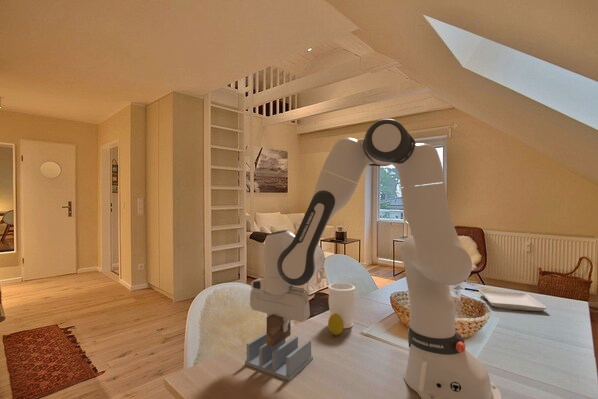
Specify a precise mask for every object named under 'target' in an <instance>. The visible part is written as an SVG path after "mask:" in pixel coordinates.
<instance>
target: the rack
mask: <svg viewBox="0 0 598 399" xmlns="http://www.w3.org/2000/svg"><path fill="white" fill-rule="evenodd" d="M313 360H314V356H313V355H312V339H307V340H306V341H304V342H303V343H302V344H301V345H300V346H299V336H298V335H297V336H296V335H295V336H293V337H291V339H289V340H286V339H284V340H283V341H281V342H280V343H278V344H277V345H275V346H274V347H272V346H269V345H267V331H266V332H264V333H262V334H261V335H259V336H258V337H255V338H254V339H252V340H250V341H249V342H248V343H246V360H245V361H244V365H245V366H247V367H248V366H249V367H251V368H253V369H256V370H259V371H262V372H264V373H267V374H269V375H272V376H274V377H277V378H280V379H282V380H285V381H287V382H290V381H291V380H292V379H293V378H294V377H296V375H298V374H299V373H300V372H301V371H302V370H303V369H304V368H305V367H306V366H307V365H309V364H310V363H311V362H312V361H313ZM308 363H309V364H308Z"/></svg>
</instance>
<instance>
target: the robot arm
mask: <svg viewBox="0 0 598 399" xmlns="http://www.w3.org/2000/svg"><path fill="white" fill-rule="evenodd" d="M442 164H443V163H442V161H441V158H440V155H439V152H438V150H437V149H436V147H434V146H433V145H432V144H429V143H424V142H423V143H422V142H421V143H420V142H419V143H416V141H415V139H414V138H413V137H412V135H411V134H410V132H408V130H407V129H406V127H405V126H404V125H403V124H401V122H399V121H398V120H395V119H392V118H383V119H380V120H376V121H375V122H373V124H371V125H370V126H369V127H368V128H367V130H366V133H365V135H364V138H361V139H357V138H353V137H342V138H340V139H338V140H337V141H336V142H335V144H334V145H333V146H332V148H331V150H330V151H329V153H328V155H327V157H326V159H325V161H324V162H323V166H322V167H321V170H320V173H319V176H318V178H317V181H316V184H315V187H314V191H313V193H312V197H311V200H310V202H309V205H308V207H307V209H306V211H305V213H304V216H303V218H302V220H301V223H300V225H299V227H298V229H297V231H296V234H294V233H293V232H292V231H291V230H288V229H282V230H279V231H273V232H270V233H268V234H267V235H266V237H265V239H264V248H263V262H264V266H265V268H264V272H263V276H262V277H259V278H257V279H254V280H252V281H250V288H251V290H250V292H249V293H250V295H249V307H250V308H251V311H252V310H253V311H256V312H259V313H264V314H266V316H267V317H268V316H270V315H272V314H273V315H277V316H280V317H283V321H285V322H284V324H283V325H281V331H283V332H286V331H287V330H288V324H289V322H290V323H291V320H293V321H296V322H300V323H303V322H305V321H307V320H308V319H309V318H310V316H311V312H310V311H311V310H310V302H309V301H310V299H309V297H310V296H309V293H308V291H307V290H306V289H305V288H304V287H300V286H303V285H305V284H307V283H308V282H310V280H311V279H312V277H313V276H314V275H315V274H316V273H317V272H319V270H320V269H322V266H323V265H324V262H325V253H324V251H323V249H322V247H321V246H320V245H319V243H320V241H321V238H322V236H323V234H324V232H325V229H326V227H327V225H328V223H329V222H330V220H331V219H332V218H333V217H334V216H335V214H336V213H337V212H338V211H339V212H340V210H341V209H343V208H344V207H345V206H346V205H347V204H348V203H349V201H350V200H351V198H352V196H353V195H354V193H355V191H356V189H357V187H358V185H359V184H358V183H359V182H360V180H361V177H362V174H363V172H364V171H365V169H366V168H367V167H368V166H369V167H370V166H373V167H374V166H375V167H388V166H393V167H394V168H395V169H396V172H397V173H398V176H399V181H400V182H399V184H400V193H401V199H402V207H403V216H404V218H405V220H406V222H407V224H408V226H409V229H410V232H411V235H410V236H407V237H406V238H404V239H403V241H402V243H401V244H400V247H399V251H400V252H399V253H400V256H401V259H402V262H403V266H404V267H403V268H404V274H405V275H404V276H405V279H406V285H407V289H408V291H407V292H408V297H409V326H408V330H407V343H408V348H409V350H408V359H407V364H406V369H405V372H404V374H403V378H404V381H405V383H406V384H407V385H408V386H409V387H410V389H412V390H413V391H414V392H416V393H417V394H418V396H419V397H420V399H502V398H503V397H502V393H501V391H500V389H499V388H498V385H496V384H495V383H494V382H492V381H491V379H490V375H489V372H488V370H487V368H486V366H485V365H484V363H483V362H481V361H480V360H479V359H478V358H476V357H475V356H474V355H473V354H472V353H471V352H469V351H468V350H467V349H466V343H465V338H464V334H463V333H461V334H460V333H458V332H457V331H456V304H455V301H454V298H453V295H452V293H451V292H450V288H449V286H457V285H461V284H462V283H464V282H465V281H466V280H467V279H468V278H469V277H470V276H471V274H472V273H471V272H472V270H473V261H472V257H471V255H470V254H469V252H467V250H466V249H465V247H464V246H463V244H462V242H461V241H460V237H459V236H458V232H457V231H456V228H455V225H454V222H453V220H452V217H451V214H450V208H449V202H448V196H447V194H448V193H447V187H446V180H445V175H444V169H443V165H442ZM267 317H266V318H267Z"/></svg>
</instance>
